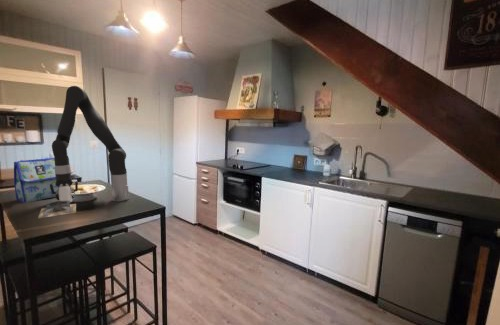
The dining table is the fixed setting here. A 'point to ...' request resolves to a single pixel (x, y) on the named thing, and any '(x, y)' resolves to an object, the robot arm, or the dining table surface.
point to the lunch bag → (34, 179)
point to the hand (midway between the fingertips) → (65, 199)
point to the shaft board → (57, 211)
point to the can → (65, 193)
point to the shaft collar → (57, 207)
